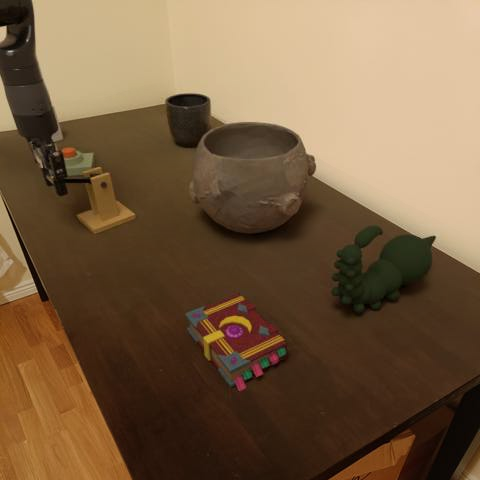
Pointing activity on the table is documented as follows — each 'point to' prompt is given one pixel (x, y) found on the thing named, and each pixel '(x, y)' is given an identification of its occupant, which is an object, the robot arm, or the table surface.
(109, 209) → the wooden lever stand
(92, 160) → the switch block
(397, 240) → the toy figurine
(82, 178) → the switch lever
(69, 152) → the button
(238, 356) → the decorative book
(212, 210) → the bowl
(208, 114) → the planter
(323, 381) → the table surface
